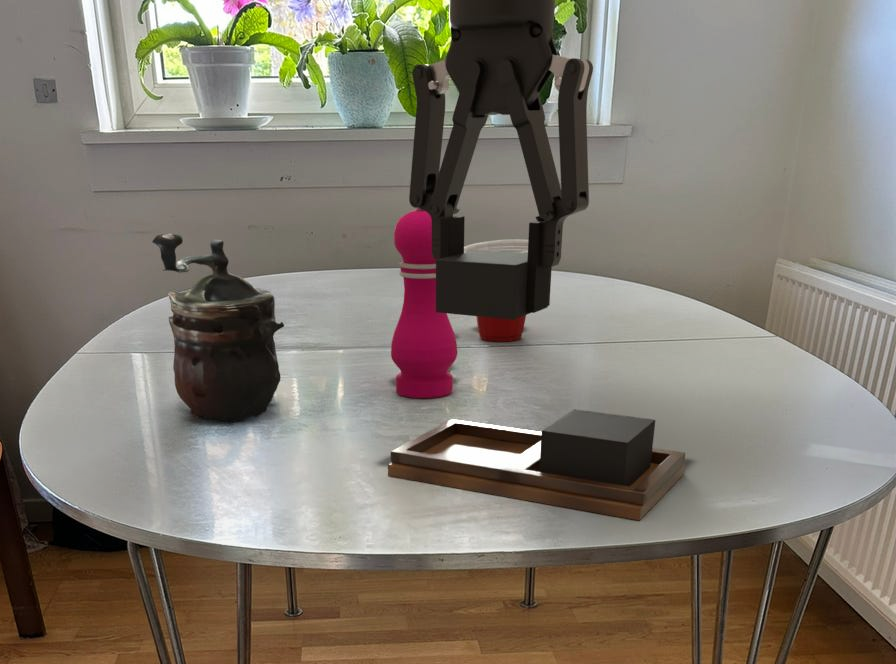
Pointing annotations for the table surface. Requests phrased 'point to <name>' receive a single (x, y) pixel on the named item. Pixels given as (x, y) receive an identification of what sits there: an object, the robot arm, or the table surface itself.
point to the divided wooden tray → (525, 470)
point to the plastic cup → (495, 326)
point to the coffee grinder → (221, 338)
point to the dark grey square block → (483, 284)
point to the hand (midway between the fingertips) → (493, 305)
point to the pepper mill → (421, 316)
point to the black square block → (598, 447)
